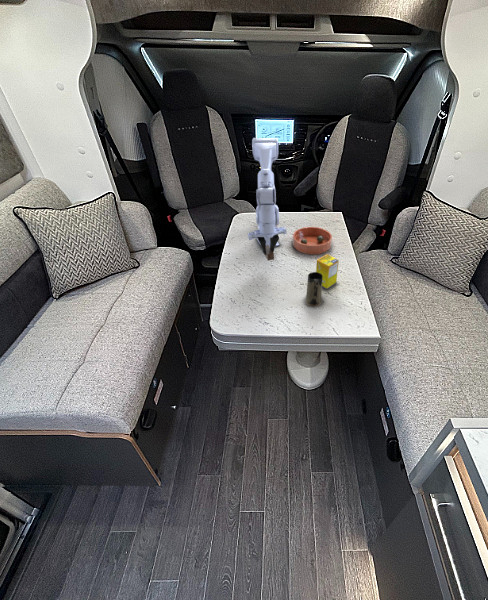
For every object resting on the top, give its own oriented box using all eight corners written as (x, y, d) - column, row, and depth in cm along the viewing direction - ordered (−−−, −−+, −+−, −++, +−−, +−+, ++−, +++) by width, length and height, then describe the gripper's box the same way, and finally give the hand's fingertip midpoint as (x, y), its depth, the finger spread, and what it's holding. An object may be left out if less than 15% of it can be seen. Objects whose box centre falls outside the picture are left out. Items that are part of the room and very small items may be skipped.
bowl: (287, 239, 158) (287, 230, 155) (321, 233, 162) (321, 224, 160) (301, 257, 145) (301, 248, 142) (337, 250, 150) (338, 241, 147)
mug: (305, 296, 125) (307, 268, 117) (320, 296, 125) (322, 269, 117) (306, 310, 119) (308, 282, 111) (322, 310, 119) (324, 282, 111)
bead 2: (315, 241, 155) (316, 235, 153) (321, 240, 156) (322, 234, 154) (318, 244, 153) (318, 238, 151) (324, 243, 154) (324, 237, 152)
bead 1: (299, 244, 153) (299, 238, 151) (305, 243, 154) (305, 237, 152) (301, 247, 151) (302, 241, 149) (308, 246, 152) (308, 240, 150)
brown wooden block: (262, 251, 136) (262, 246, 134) (268, 250, 136) (268, 244, 135) (267, 260, 130) (267, 254, 129) (274, 259, 131) (274, 253, 130)
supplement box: (324, 277, 134) (326, 253, 127) (336, 284, 131) (339, 259, 124) (314, 283, 131) (316, 259, 124) (326, 290, 128) (328, 266, 121)
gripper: (250, 228, 119) (252, 261, 128) (289, 222, 123) (289, 254, 132) (245, 219, 124) (247, 251, 133) (282, 213, 128) (282, 245, 137)
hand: (268, 252), depth 133 cm, fingers closed on brown wooden block, 2 cm apart
